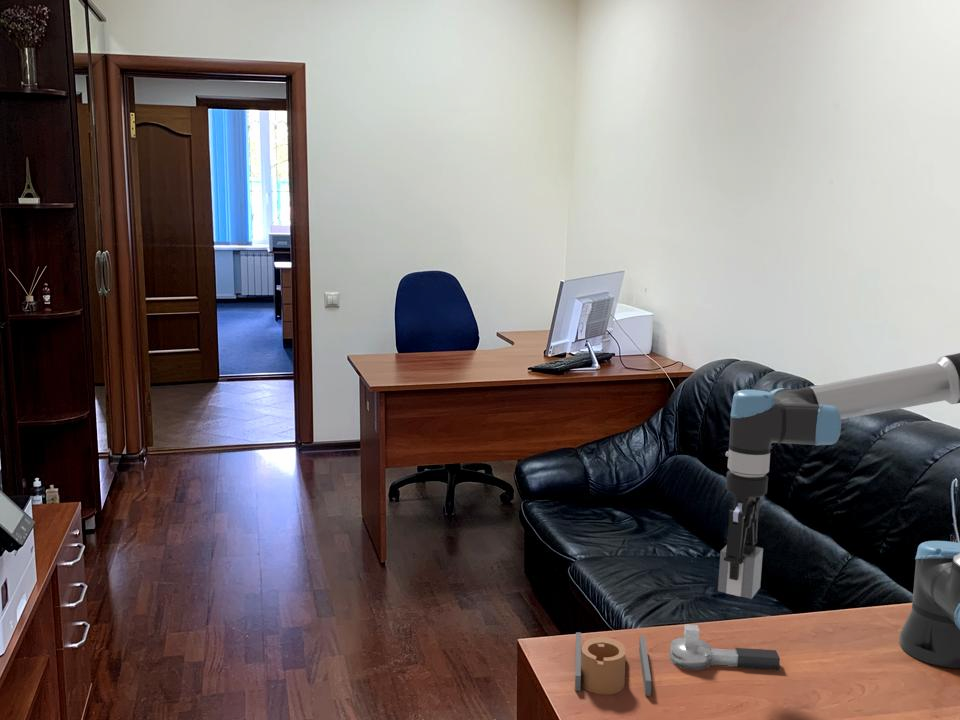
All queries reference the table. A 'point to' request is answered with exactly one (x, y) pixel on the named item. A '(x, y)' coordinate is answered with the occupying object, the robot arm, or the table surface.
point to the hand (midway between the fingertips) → (738, 587)
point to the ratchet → (717, 654)
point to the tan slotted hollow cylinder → (603, 665)
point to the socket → (744, 571)
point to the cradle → (642, 658)
